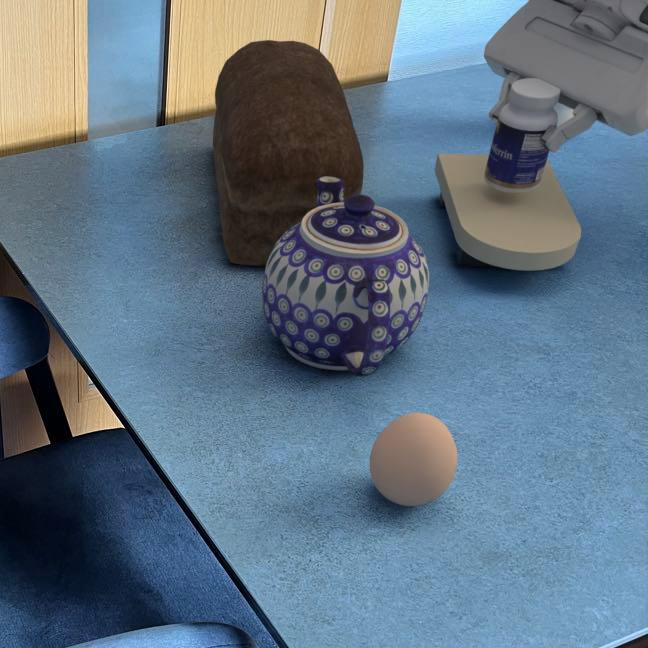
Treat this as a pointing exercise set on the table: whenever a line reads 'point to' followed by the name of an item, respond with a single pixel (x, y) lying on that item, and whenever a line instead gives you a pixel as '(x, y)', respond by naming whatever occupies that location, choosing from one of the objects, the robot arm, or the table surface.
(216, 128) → the bread
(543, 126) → the pill bottle
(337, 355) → the teapot
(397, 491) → the egg
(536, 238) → the beige rounded board
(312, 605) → the table surface
